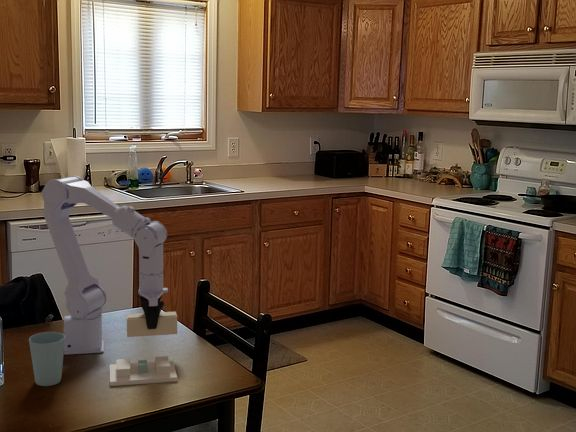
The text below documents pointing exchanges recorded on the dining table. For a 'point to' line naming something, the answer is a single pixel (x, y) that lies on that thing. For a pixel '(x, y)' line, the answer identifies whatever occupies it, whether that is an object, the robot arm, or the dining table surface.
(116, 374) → the display stand
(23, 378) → the dining table surface
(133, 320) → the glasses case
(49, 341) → the cup
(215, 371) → the dining table surface
